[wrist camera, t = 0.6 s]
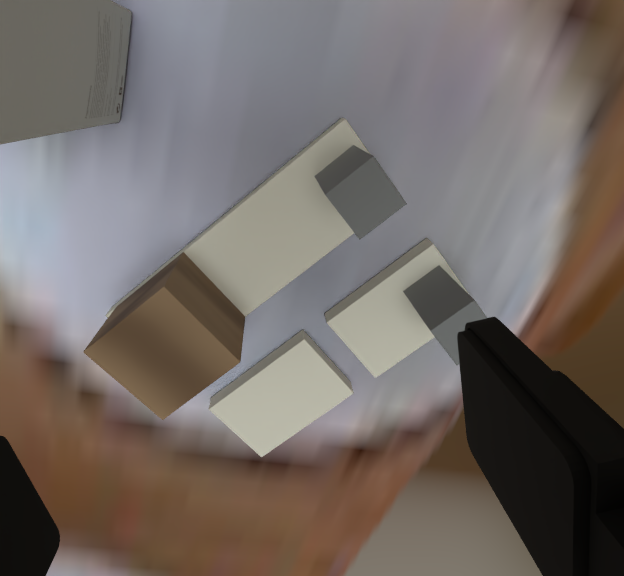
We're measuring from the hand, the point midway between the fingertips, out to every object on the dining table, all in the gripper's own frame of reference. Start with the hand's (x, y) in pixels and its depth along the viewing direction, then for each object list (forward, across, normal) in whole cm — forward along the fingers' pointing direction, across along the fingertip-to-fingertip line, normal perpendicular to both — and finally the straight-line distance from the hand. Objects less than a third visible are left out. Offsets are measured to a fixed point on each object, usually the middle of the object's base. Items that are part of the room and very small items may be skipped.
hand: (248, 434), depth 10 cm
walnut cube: (+22, +7, +6) cm, 23 cm away
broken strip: (+23, -3, +12) cm, 26 cm away
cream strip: (+23, +2, +3) cm, 23 cm away
